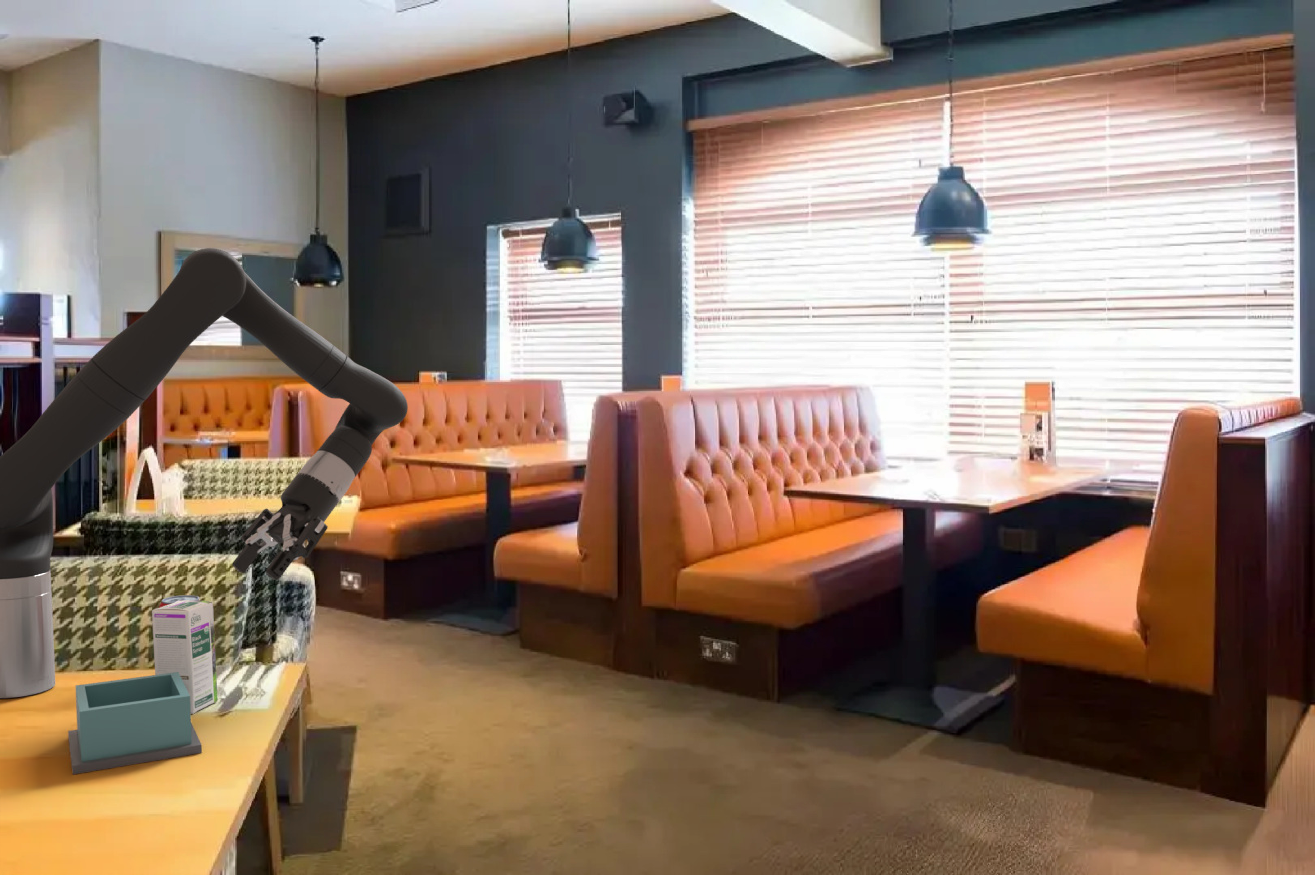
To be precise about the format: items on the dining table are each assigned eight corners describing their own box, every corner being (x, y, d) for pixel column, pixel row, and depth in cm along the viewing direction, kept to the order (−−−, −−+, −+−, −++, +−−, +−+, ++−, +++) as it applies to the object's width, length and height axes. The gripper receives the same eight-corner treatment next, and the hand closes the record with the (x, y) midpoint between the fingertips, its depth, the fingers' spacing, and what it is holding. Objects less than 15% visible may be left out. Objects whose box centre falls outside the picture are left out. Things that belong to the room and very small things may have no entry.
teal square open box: (68, 738, 140) (66, 684, 139) (187, 720, 147) (185, 669, 146) (72, 774, 128) (70, 715, 127) (201, 752, 135) (199, 697, 134)
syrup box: (193, 715, 149) (190, 609, 148) (154, 712, 150) (151, 607, 149) (218, 702, 155) (215, 600, 154) (180, 699, 156) (177, 598, 155)
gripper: (275, 468, 170) (209, 552, 162) (332, 474, 162) (265, 563, 153) (305, 499, 175) (242, 582, 167) (362, 506, 166) (299, 594, 158)
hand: (254, 572), depth 160 cm, fingers open, 8 cm apart
